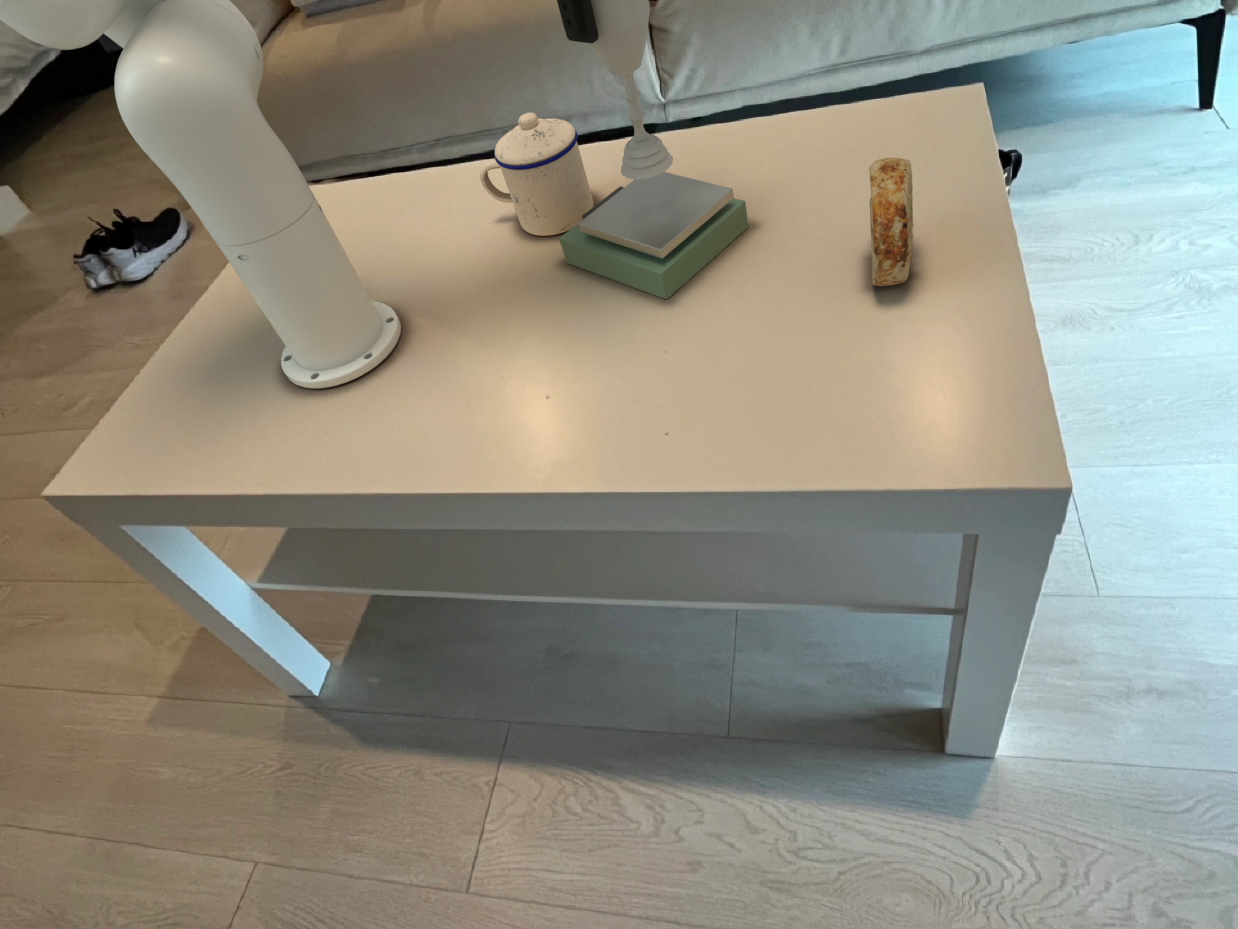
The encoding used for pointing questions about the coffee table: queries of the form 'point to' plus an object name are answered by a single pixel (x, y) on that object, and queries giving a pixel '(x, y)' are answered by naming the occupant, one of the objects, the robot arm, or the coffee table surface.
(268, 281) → the robot arm
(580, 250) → the scale
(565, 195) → the teacup with lid
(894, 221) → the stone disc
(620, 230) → the pan
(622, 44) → the chalice
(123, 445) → the coffee table surface
